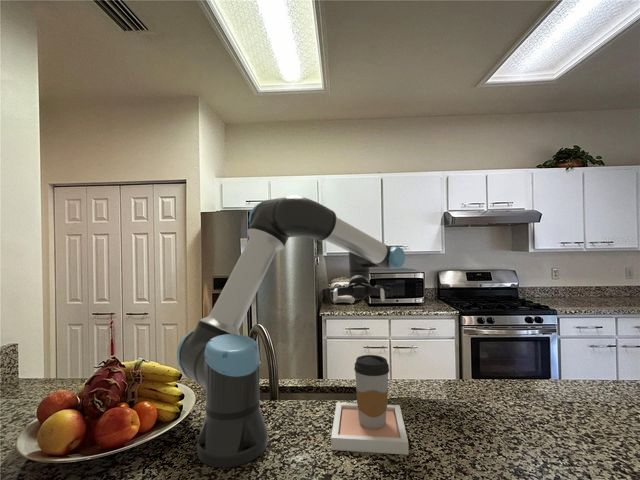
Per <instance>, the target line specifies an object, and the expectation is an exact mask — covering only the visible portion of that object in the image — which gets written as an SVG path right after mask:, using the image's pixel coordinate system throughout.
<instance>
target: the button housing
mask: <svg viewBox="0 0 640 480" xmlns="http://www.w3.org/2000/svg"><path fill="white" fill-rule="evenodd" d="M335 403H336V404H335V410H334V417H333V424H332V429H331V437H330V450H331V451H342V452H344V451H345V452H357V453H359V452H360V453H377V454H389V455H390V454H393V455H394V454H395V455H410V454H409V440H408V435H407V431H406V427H405V422H404V418H403V415H402V414H403V413H402V410H401V406H400V404H387V410H386V411H394V416H395V421H396V426H397V432H398V437H399V438H391V437H373V436H356V435H340V428H341V419H342V411H343V409H358V406H357V402H356V403H355V402H339V401H338V402H335Z"/></svg>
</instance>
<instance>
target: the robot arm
mask: <svg viewBox="0 0 640 480" xmlns="http://www.w3.org/2000/svg"><path fill="white" fill-rule="evenodd" d="M248 222H249V226H248V227H249V228H247V236H248V241H247V243H246V245H245V246H244V248H243V251H242V252H241V254H240V255H239V258H238V260H237V261H236V264H235V265H234V267H233V269H232V271H231V273H230V275H229V277H228V279H227V281H226V283H225V285H224V287H223V288H222V290H221V291H220V294H219V295H218V298H217V299H216V302H215V303H214V305H213V307H212V309H211V312H210V314H208V316H206V317H204V318H203V317H202V318H200V320H199V321H198V323H197V325H196V327H195V329H194V330H192V331H190V332H189V333H187V334H186V335H184V337H183V338H182V339H180V340H181V341H179V344H178V346H177V350H176V362H177V365H178V367H179V369H180V370H181V371H182V372H183V374H184V375H185V376H186V377H187V378H188V379H190V380H192V381H194V382H195V383H197V384H199V385H200V386H201V387H202V388H204V389H205V416H204V418H203V419H204V420H203V422H202V426H201V427H200V428H201V429H200V432H199V436H198V438H197V444H196V446H197V447H196V448H197V452H196V453H197V458H198V459H199V460H200V462H202V463H203V464H205V465H207V466H210V467H214V468H219V469H220V468H222V469H223V468H224V469H225V468H234V467H238V466H241V465H246V464H248V463H249V462H252V461H253V460H255V459H257V458H259V457H260V456H261V454H263V453H264V452H265V450H266V448H267V446H268V443H269V441H268V440H269V438H268V436H269V435H268V434H269V433H268V428H267V425H266V423H265V420H264V416H263V414H262V410H261V407H260V363H261V358H260V357H261V356H260V351H259V345H258V343H257V341H256V340H255V339H253V338H252V337H250V336H247V335H244V334H241V333H240V328H241V325H242V324H243V321H244V319H245V317H246V315H247V313H248V311H249V308H250V307H251V304H253V300H254V299H255V297H256V294H257V292H258V290H259V288H260V286H261V284H262V282H263V280H264V277H265V275H266V273H267V271H268V270H269V267H270V265H271V263H272V261H273V259H274V257H275V255H276V253H277V252H280V251H282V250H283V249H284V248H285V246H286V244H287V242H288V240H289V238H295V237H296V238H299V237H301V238H302V237H303V238H310V239H313V240H315V241H318V242H324V241H326V242H329V243H330V244H332V245H333V246H336V247H338V248H341V249H343V250H345V251H347V252H348V265H349V266H348V270H349V271H348V274H349V275H348V277H349V278H348V279H349V281H348V284H346V285H345V286H343V284H338V285H334V286H329V287H326V288H325V297H327V298H328V297H331V300H333V301H334V302H336V301H337V300H338V297H340V296H341V297H342V296H348V297H352V298H353V299H356V300H362V299H365V298H367V297H369V296H370V297H371V296H376V297H380V300H381V302H386V301H385V299H386V298H388V297H389V298H392V297H393V295H394V293H393V289H394V288H392V287H387V286H388V285H387V286H386V285H381V284H380V285H379V284H376V285H374V286H373V285H372V284H370V268H371V269H373V268H375V269H389V270H394V269H396V270H397V269H400V268H403V266H404V264H405V262H406V261H405V260H406V255H405V252H404V250H403V248H402V247H400V246H394V245H393V246H389V245H388V244H385V243H383V242H381V241H380V240H378V239H376V238H374V237H373V236H371V235H369V234H368V233H366V232H363V231H362V230H360V229H359V228H357V227H355V226H354V225H351V224H350V223H348V222H346V221H344V220H343V219H341V218H339V217H338V216H337V214H336V212H335V211H334V210H332V209H331V208H328V207H327V206H325V205H323V204H321V203H319V202H317V201H314V200H313V199H310V198H307V197H305V196H301V195H295V194H294V195H287V196H283V197H277V198H269V199H265V200H262V201H261V202H259V203H257V204H255V206H254V207H253V208H252V209H251V211H250V213H249V216H248Z"/></svg>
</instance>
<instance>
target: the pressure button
mask: <svg viewBox="0 0 640 480" xmlns="http://www.w3.org/2000/svg"><path fill="white" fill-rule="evenodd" d="M340 435H356V436H373V437H391V438H399V437H398V432H397V426H396V421H395V416H394V411H386V423H385V425H384V427H383V428H381V429H377V430H371V429H367V428H364V427H363V426H362V425H361V424H360V422H359V415H358V409H343V411H342V419H341V428H340Z"/></svg>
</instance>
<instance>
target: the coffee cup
mask: <svg viewBox="0 0 640 480" xmlns="http://www.w3.org/2000/svg"><path fill="white" fill-rule="evenodd" d="M355 360H356V361H355V362H354V368H353V369H354V372H355V374H354V375H355V385H356V386H355V390H356V391H355V393H356V403H357V406H358V415H359V422H360V424H361V425H362V426H363V427H364V428H367V429H371V430H377V429H381V428H383V427H384V425H385V423H386V410H387V405H388V394H389V391H388V390H389V388H388V387H389V385H388V384H389V383H388V382H389V372H390V366H389V363H388V360H387V358H385V357H384V356H382V355H378V354H377V355H376V354H365V355H360V356H357V358H356V359H355Z"/></svg>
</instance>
